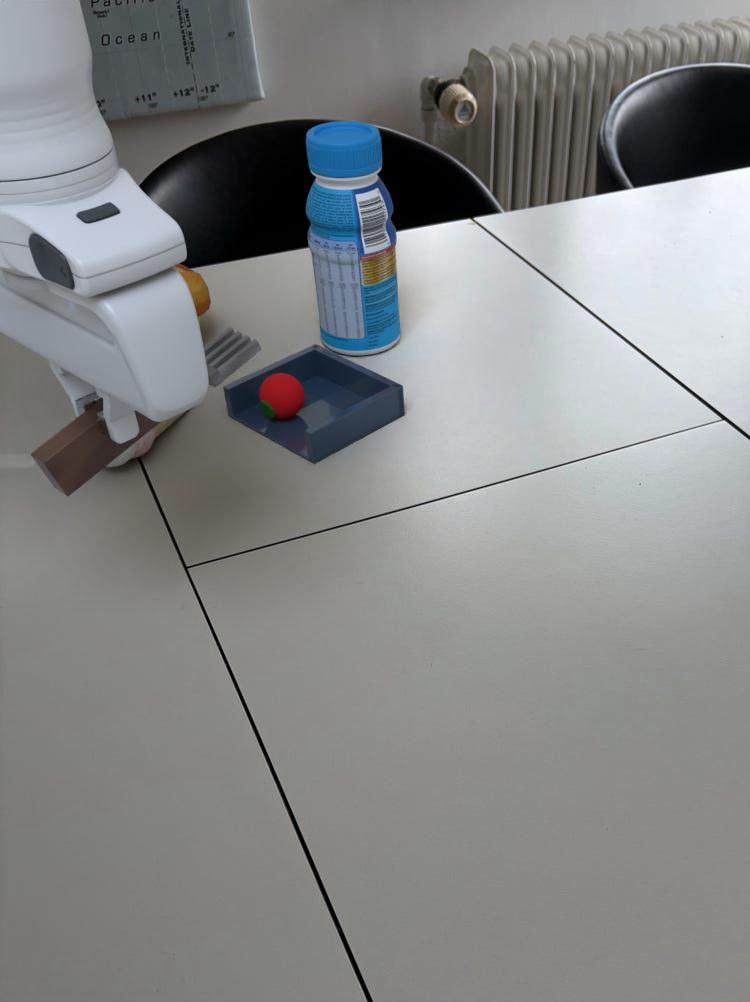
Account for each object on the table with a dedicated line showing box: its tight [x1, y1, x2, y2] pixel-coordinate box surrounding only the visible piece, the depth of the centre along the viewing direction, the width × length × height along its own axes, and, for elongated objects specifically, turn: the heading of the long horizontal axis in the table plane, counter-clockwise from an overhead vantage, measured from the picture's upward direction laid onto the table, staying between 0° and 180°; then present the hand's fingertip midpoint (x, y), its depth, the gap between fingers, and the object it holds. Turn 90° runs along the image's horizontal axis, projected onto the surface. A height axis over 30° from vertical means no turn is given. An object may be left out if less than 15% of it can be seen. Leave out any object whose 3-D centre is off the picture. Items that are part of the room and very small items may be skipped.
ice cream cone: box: [105, 411, 187, 468], centre depth 92 cm, size 5×5×15 cm
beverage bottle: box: [305, 120, 402, 357], centre depth 100 cm, size 8×8×20 cm
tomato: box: [259, 373, 304, 419], centre depth 94 cm, size 4×4×4 cm
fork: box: [30, 327, 262, 497], centre depth 68 cm, size 16×3×3 cm, turn 139°
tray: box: [222, 343, 406, 465], centre depth 95 cm, size 12×11×3 cm
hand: (109, 428), depth 66 cm, fingers closed on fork
